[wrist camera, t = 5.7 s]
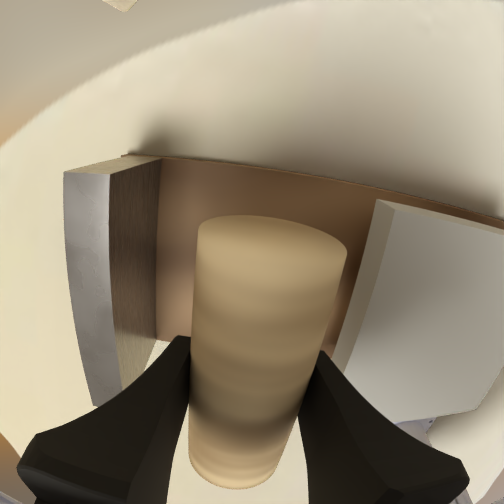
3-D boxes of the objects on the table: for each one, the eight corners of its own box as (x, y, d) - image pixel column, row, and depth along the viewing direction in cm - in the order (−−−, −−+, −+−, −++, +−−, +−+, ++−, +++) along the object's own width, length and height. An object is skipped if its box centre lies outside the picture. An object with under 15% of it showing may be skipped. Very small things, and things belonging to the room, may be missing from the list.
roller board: (497, 348, 23) (539, 398, 16) (127, 325, 22) (85, 403, 14) (542, 234, 19) (602, 268, 12) (127, 154, 17) (53, 171, 10)
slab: (464, 392, 18) (475, 409, 16) (315, 401, 17) (321, 425, 15) (533, 238, 14) (553, 250, 12) (376, 198, 13) (395, 209, 11)
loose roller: (280, 427, 14) (276, 495, 10) (199, 413, 14) (179, 478, 10) (335, 228, 10) (361, 278, 7) (215, 208, 11) (177, 248, 7)
